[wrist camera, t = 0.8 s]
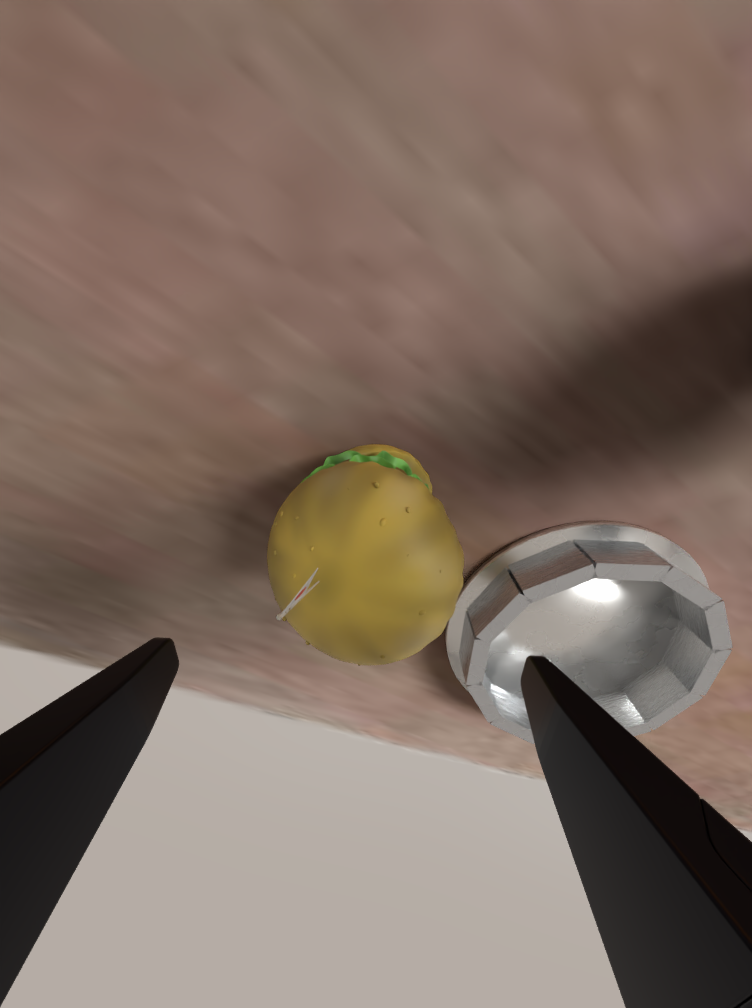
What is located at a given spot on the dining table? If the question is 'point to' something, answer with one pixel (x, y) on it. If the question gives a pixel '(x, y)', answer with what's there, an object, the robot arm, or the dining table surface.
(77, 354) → the dining table surface
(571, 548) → the collar
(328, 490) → the hamburger
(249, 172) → the dining table surface
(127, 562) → the dining table surface
